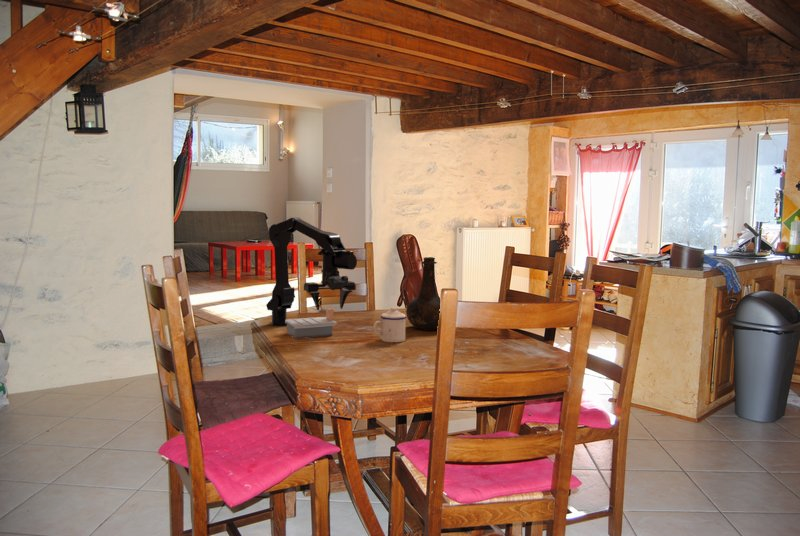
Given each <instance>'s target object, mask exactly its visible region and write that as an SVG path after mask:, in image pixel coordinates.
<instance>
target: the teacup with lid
mask: <svg viewBox="0 0 800 536" xmlns="http://www.w3.org/2000/svg"><path fill="white" fill-rule="evenodd" d="M380 318H381V320H377V321H375V322H374V323H373V331H374V333H375V334H377V335H380V340H381V341H382V342H385V343H393V342H395V343H402V342H404V341H406V318H407V315H406V313H402V312H400V311H399V310H397V308H396V307H391V308H390V310H388V311H386V312H383V313H381V315H380ZM378 324H380V327H381V328H380V332H379V331H378V330H377V325H378Z"/></svg>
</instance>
